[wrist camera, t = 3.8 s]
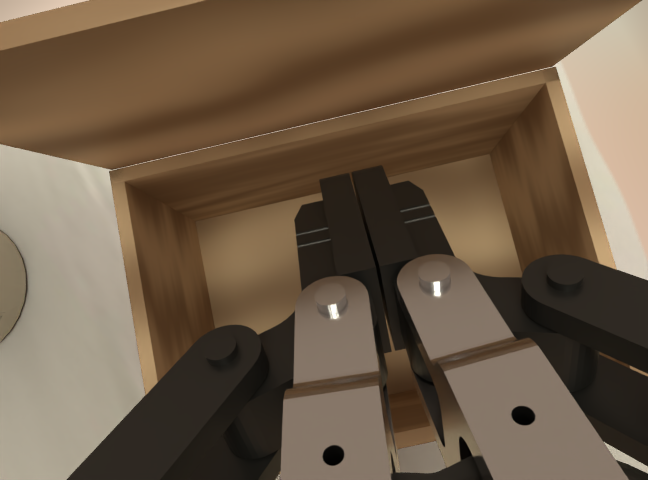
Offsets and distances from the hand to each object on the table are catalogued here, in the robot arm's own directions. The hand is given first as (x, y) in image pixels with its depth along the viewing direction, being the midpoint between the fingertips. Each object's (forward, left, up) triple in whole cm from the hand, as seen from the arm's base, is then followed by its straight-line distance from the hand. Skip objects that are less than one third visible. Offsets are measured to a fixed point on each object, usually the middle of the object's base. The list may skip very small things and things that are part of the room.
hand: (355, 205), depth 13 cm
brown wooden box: (+1, 0, -21) cm, 21 cm away
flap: (-4, +2, -3) cm, 6 cm away
